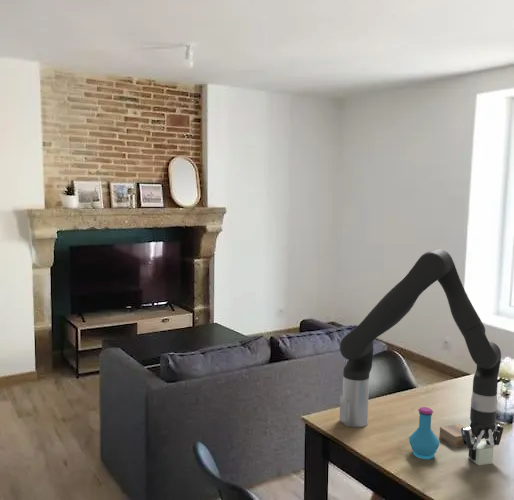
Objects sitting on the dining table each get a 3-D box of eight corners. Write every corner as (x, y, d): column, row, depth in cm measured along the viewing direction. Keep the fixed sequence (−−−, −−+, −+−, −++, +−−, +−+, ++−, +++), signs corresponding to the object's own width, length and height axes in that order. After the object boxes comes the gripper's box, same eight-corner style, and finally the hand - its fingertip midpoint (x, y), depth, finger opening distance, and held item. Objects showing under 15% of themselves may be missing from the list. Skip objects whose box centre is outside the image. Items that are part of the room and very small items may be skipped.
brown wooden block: (454, 448, 184) (455, 436, 183) (439, 437, 191) (440, 426, 191) (474, 445, 186) (475, 433, 186) (458, 434, 194) (459, 423, 193)
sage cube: (478, 465, 172) (479, 449, 171) (468, 457, 177) (469, 442, 176) (492, 463, 173) (493, 448, 173) (482, 455, 178) (483, 441, 177)
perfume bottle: (434, 464, 172) (436, 417, 171) (404, 456, 177) (406, 410, 175) (441, 452, 180) (444, 407, 178) (413, 445, 185) (415, 401, 183)
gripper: (471, 413, 168) (467, 467, 169) (511, 409, 171) (508, 461, 173) (456, 403, 175) (453, 455, 177) (495, 400, 178) (492, 450, 180)
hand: (480, 458), depth 175 cm, fingers closed on sage cube, 5 cm apart
